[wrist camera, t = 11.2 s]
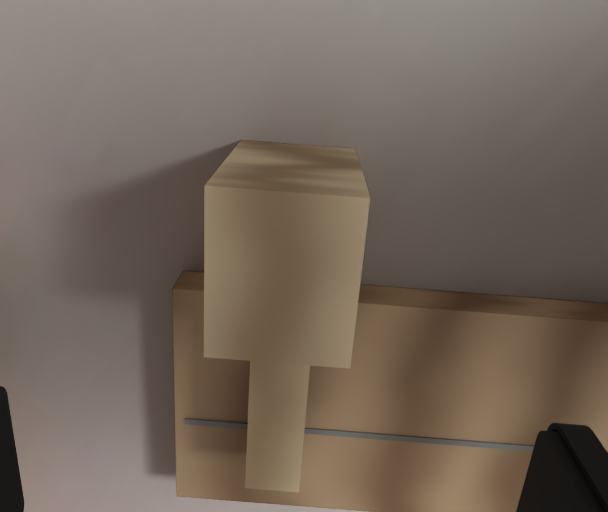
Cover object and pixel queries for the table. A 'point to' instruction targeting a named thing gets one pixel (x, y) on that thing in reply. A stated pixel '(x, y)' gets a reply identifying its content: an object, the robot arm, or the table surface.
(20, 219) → the table surface
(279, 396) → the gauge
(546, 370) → the board
